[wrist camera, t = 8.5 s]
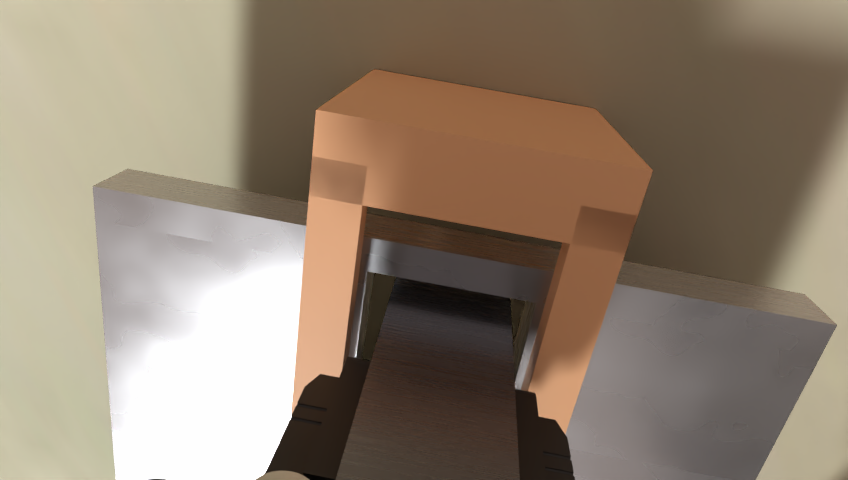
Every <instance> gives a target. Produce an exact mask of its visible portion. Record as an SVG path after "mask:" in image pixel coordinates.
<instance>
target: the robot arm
mask: <svg viewBox="0 0 848 480" xmlns="http://www.w3.org/2000/svg"><path fill="white" fill-rule="evenodd" d="M370 363H371V361H370V360H365V359H359V358H354V357H349V356H348V357H347V359H346V361H345V364H344V366H343V369H342V372H341V374H340V377H334V376H329V375H324V374H320V375H318V376H317V377H316V378H315V379H313V380H312V381H311V382H310V383H308V384H307V385H306V386H305V387H304V389H303V391H302V394H301V396H300V398H299V400H298V402H297V406H296V407H295V409H294V411H293V413H292V415H291V419H290V420H289V422H288V424H287V426H286V428H285V430H284V433H283V435H282V437H281V439H280V441H279V443H278V446H277V448H276V450H275V452H274V454H273V457H272V459H271V461H270V463H269V465H268V467H267V470H266V471H265V473H264V474H263V475H261V476H259V477H257V478H256V479H254V480H336V476H337V473H338V470H339V466H340V463H341V460H342V456H343V453H344V450H345V446H346V443H347V440H348V436H349V433H350V430H351V426H352V423H353V419H354V416H355V413H356V409H357V406H358V403H359V399H360V396H361V393H362V389H363V386H364V383H365V379H366V376H367V373H368V369H369V366H370ZM515 400H516V418H517V437H518V456H519V475H520V480H575V477H574V476H573V473H574V471H573V465H572V460H571V454H570V449H569V443H568V438H567V436H566V435H565V433H564V432H563V430H562V429H561V427H560V426H559V424H558V423H557V421H556V420H554V419H549V418H544V417H539V415H538V407H537V398H536V394H535V393H534V392H529V391H524V390H519V389H515ZM147 480H167V479H147Z"/></svg>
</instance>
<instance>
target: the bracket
mask: <svg viewBox="0 0 848 480" xmlns="http://www.w3.org/2000/svg"><path fill="white" fill-rule="evenodd" d="M652 172H653V170H652V169H651V168H650V167H649V166H648V165H647V164H646V163H645V161H644V160H643V159H642V158H641V157H640V156H639V155H638V154H637V153H636V152H635V151H634V150H633V149H632V147H631V146H630V145H629V144H628V143H627V142H626V141H625V140H624V139H623V138H622V137H621V136H620V135H619V133H618V132H617V131H616V130H615V129H614V128H613V127H612V126H611V125H610V124H609V123H608V122H607V121H606V119H605V118H604V117H603V116H602V115H601V114H600V113H599V112H598V111H597V110H596V109H595V108H589V107H584V106H578V105H572V104H567V103H561V102H556V101H550V100H544V99H539V98H533V97H528V96H522V95H516V94H511V93H505V92H499V91H494V90H488V89H483V88H477V87H471V86H466V85H460V84H455V83H449V82H443V81H438V80H432V79H427V78H421V77H415V76H410V75H404V74H399V73H393V72H387V71H382V70H376V69H374V70H372V71H371V72H369V73H368V74H366V75H365V76H364V77H362V78H361V79H359V80H358V81H356V82H355V83H354V84H352V85H351V86H349V87H348V88H346V89H345V90H343V91H342V92H341V93H339V94H338V95H336V96H335V97H333V98H332V99H330V100H329V101H328V102H326V103H325V104H323V105H322V106H320V107H319V108H318V109H316V114H315V126H314V139H313V151H312V163H311V175H310V187H309V200H308V212H307V224H306V236H305V248H304V260H303V273H302V285H301V297H300V309H299V321H298V334H297V346H296V358H295V370H294V382H293V395H292V407H291V415H292V413H293V411H294V409H295V407H296V406H297V402H298V400H299V398H300V396H301V394H302V391H303V389H304V387H305V386H306V385H307V384H308V383H310V382H311V381H312V380H313V379H315V378H316V377H317V376H318V375H320V374H324V375H329V376H334V377H340V374H341V372H342V369H343V366H344V364H345V361H346V359H347V357H348V356H349V349H350V341H351V333H352V325H353V317H354V309H355V301H356V293H357V286H358V278H359V270H360V262H361V254H362V246H363V238H364V230H365V223H366V215H367V207H373V208H379V209H384V210H390V211H395V212H401V213H406V214H411V215H417V216H422V217H428V218H433V219H438V220H444V221H449V222H455V223H460V224H465V225H471V226H476V227H482V228H487V229H492V230H498V231H503V232H509V233H514V234H519V235H525V236H530V237H536V238H541V239H546V240H552V241H557V242H562V245H561V249H560V252H559V256H558V259H557V263H556V266H555V270H554V273H553V277H552V281H551V284H550V288H549V291H548V295H547V298H546V302H545V305H544V309H543V313H542V316H541V320H540V323H539V327H538V330H537V334H536V338H535V341H534V345H533V348H532V352H531V355H530V359H529V362H528V366H527V370H526V373H525V377H524V380H523V384H522V387H521V390H524V391H529V392H534V393H535V394H536V398H537V407H538V415H539V417H544V418H549V419H554V420H556V421H557V423H558V424H559V426H560V427H561V429H562V430H563V432H564V433H565V434H566V431H567V428H568V425H569V422H570V419H571V416H572V413H573V410H574V407H575V404H576V401H577V398H578V395H579V392H580V389H581V386H582V383H583V380H584V377H585V374H586V371H587V368H588V365H589V362H590V359H591V356H592V353H593V349H594V346H595V343H596V340H597V337H598V334H599V331H600V328H601V325H602V322H603V319H604V316H605V313H606V310H607V307H608V304H609V301H610V298H611V295H612V292H613V289H614V286H615V283H616V280H617V277H618V274H619V271H620V268H621V265H622V262H623V259H624V256H625V253H626V250H627V247H628V244H629V241H630V238H631V235H632V232H633V229H634V226H635V223H636V220H637V217H638V214H639V211H640V208H641V205H642V202H643V199H644V196H645V193H646V190H647V187H648V184H649V181H650V178H651V175H652Z"/></svg>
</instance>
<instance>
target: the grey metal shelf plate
mask: <svg viewBox="0 0 848 480" xmlns="http://www.w3.org/2000/svg"><path fill="white" fill-rule="evenodd" d="M93 195H94V208H95V221H96V234H97V246H98V259H99V272H100V284H101V297H102V310H103V323H104V335H105V348H106V361H107V373H108V386H109V399H110V412H111V424H112V437H113V450H114V462H115V475H116V480H147V479H167V480H254V479H256V478H257V477H259V476H261V475H263V474H264V473H265V471H266V470H267V467H268V465H269V463H270V461H271V459H272V457H273V454H274V452H275V450H276V448H277V446H278V443H279V441H280V439H281V437H282V435H283V433H284V430H285V428H286V426H287V424H288V422H289V420H290V419H291V407H292V395H293V382H294V370H295V358H296V346H297V334H298V321H299V309H300V297H301V285H302V273H303V260H304V248H305V236H306V224H307V212H308V202H304V201H299V200H293V199H288V198H282V197H277V196H272V195H266V194H261V193H255V192H250V191H245V190H239V189H234V188H228V187H223V186H218V185H212V184H207V183H201V182H196V181H191V180H185V179H180V178H174V177H169V176H164V175H158V174H153V173H147V172H142V171H137V170H131V169H126V170H124V171H122V172H120V173H118V174H116V175H114V176H112V177H110V178H108V179H106V180H104V181H102V182H100V183H98V184H96V185H94V186H93ZM559 252H560V249H558V248H552V247H547V246H541V245H536V244H531V243H525V242H520V241H514V240H509V239H504V238H498V237H493V236H487V235H482V234H477V233H471V232H466V231H460V230H455V229H450V228H444V227H439V226H433V225H428V224H423V223H417V222H412V221H406V220H401V219H396V218H390V217H385V216H379V215H374V214H369V213H367V215H366V223H365V230H364V238H363V246H362V254H361V262H360V270H359V278H358V286H357V293H356V301H355V309H354V317H353V325H352V333H351V341H350V349H349V357H354V358H359V359H362V358H363V351H364V343H365V336H366V329H367V322H368V315H369V307H370V300H371V293H372V286H373V279H374V273H379V274H384V275H390V276H395V277H400V278H406V279H411V280H416V281H421V282H427V283H432V284H437V285H443V286H448V287H453V288H459V289H464V290H469V291H475V292H480V293H485V294H491V295H496V296H501V297H506V298H512V299H517V300H522V301H525V304H524V308H523V312H522V316H521V320H520V323H519V327H518V331H517V335H516V338H515V342H514V346H513V362H514V381H515V389H519V390H521V387H522V384H523V380H524V377H525V373H526V370H527V366H528V362H529V359H530V355H531V352H532V348H533V345H534V341H535V338H536V334H537V330H538V327H539V323H540V320H541V316H542V313H543V309H544V305H545V302H546V298H547V295H548V291H549V288H550V284H551V281H552V277H553V273H554V270H555V266H556V263H557V259H558V256H559ZM836 326H837V324H836V323H834V322H833V321H832V320H831V319H830V318H829V317H828V316H827V315H826V314H825V313H824V312H823V311H822V310H821V309H820V308H819V307H818V306H817V305H816V304H814V303H813V302H812V301H811V300H810V299H809V298H808V297H807V296H806V295H805V294H800V293H795V292H790V291H784V290H779V289H773V288H768V287H763V286H757V285H752V284H746V283H741V282H736V281H730V280H725V279H719V278H714V277H709V276H703V275H698V274H692V273H687V272H682V271H676V270H671V269H665V268H660V267H655V266H649V265H644V264H638V263H633V262H628V261H623V262H622V265H621V268H620V271H619V274H618V277H617V280H616V283H615V286H614V289H613V292H612V295H611V298H610V301H609V304H608V307H607V310H606V313H605V316H604V319H603V322H602V325H601V328H600V331H599V334H598V337H597V340H596V343H595V346H594V349H593V353H592V356H591V359H590V362H589V365H588V368H587V371H586V374H585V377H584V380H583V383H582V386H581V389H580V392H579V395H578V398H577V401H576V404H575V407H574V410H573V413H572V416H571V419H570V422H569V425H568V428H567V431H566V434H565V435H566V436H567V438H568V443H569V449H570V454H571V460H572V465H573V471H574V473H573V476H574V477H575V480H756V478H757V476H758V474H759V472H760V470H761V468H762V466H763V465H764V463H765V461H766V459H767V457H768V455H769V453H770V451H771V449H772V448H773V446H774V444H775V442H776V440H777V438H778V436H779V434H780V432H781V430H782V429H783V427H784V425H785V423H786V421H787V419H788V417H789V415H790V413H791V411H792V410H793V408H794V406H795V404H796V402H797V400H798V398H799V396H800V394H801V392H802V391H803V389H804V387H805V385H806V383H807V381H808V379H809V377H810V375H811V374H812V372H813V370H814V368H815V366H816V364H817V362H818V360H819V358H820V356H821V355H822V353H823V351H824V349H825V347H826V345H827V343H828V341H829V339H830V337H831V336H832V334H833V332H834V330H835V328H836Z"/></svg>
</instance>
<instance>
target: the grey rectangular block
mask: <svg viewBox="0 0 848 480" xmlns="http://www.w3.org/2000/svg"><path fill="white" fill-rule="evenodd" d="M336 480H520V475H519V456H518V437H517V418H516V400H515V381H514V362H513V343H512V324H511V306H510V298H506V297H501V296H496V295H491V294H485V293H480V292H475V291H469V290H464V289H459V288H453V287H448V286H443V285H437V284H432V283H427V282H421V281H416V280H411V279H406V278H400V277H396V279H395V282H394V286H393V289H392V292H391V296H390V299H389V302H388V306H387V309H386V312H385V316H384V319H383V322H382V326H381V329H380V332H379V336H378V339H377V342H376V346H375V349H374V353H373V356H372V359H371V363H370V366H369V369H368V373H367V376H366V379H365V383H364V386H363V389H362V393H361V396H360V399H359V403H358V406H357V409H356V413H355V416H354V419H353V423H352V426H351V430H350V433H349V436H348V440H347V443H346V446H345V450H344V453H343V456H342V460H341V463H340V466H339V470H338V473H337V476H336Z"/></svg>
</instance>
